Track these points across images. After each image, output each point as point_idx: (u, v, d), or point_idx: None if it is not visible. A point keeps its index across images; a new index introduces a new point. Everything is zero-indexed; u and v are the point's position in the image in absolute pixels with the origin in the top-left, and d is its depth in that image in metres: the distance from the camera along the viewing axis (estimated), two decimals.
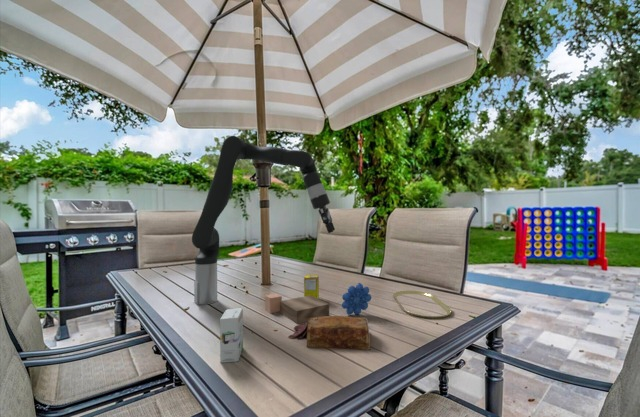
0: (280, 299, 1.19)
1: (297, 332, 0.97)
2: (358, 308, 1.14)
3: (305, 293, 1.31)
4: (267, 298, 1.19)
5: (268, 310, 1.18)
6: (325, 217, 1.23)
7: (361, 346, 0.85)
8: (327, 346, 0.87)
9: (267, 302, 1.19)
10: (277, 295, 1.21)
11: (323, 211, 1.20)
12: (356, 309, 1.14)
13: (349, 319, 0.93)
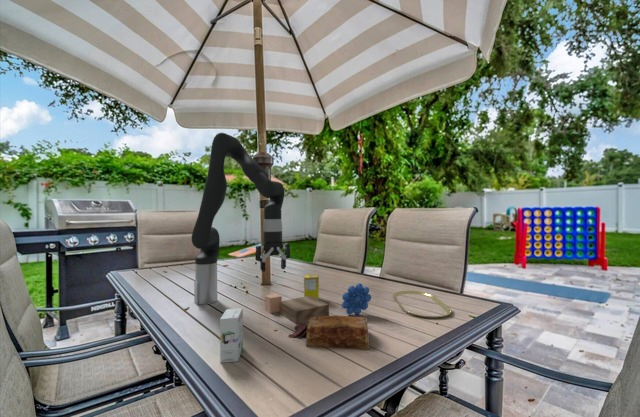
0: (280, 299, 1.19)
1: (297, 331, 0.97)
2: (358, 308, 1.14)
3: (305, 293, 1.31)
4: (267, 298, 1.19)
5: (268, 310, 1.18)
6: (264, 255, 1.18)
7: (360, 345, 0.86)
8: (326, 345, 0.87)
9: (267, 302, 1.19)
10: (277, 295, 1.21)
11: (257, 249, 1.16)
12: (356, 309, 1.14)
13: (348, 318, 0.94)
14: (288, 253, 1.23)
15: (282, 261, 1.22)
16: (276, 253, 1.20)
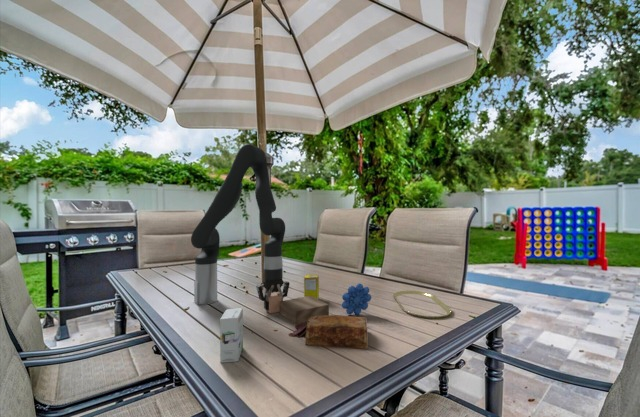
0: (280, 299, 1.19)
1: (297, 330, 0.98)
2: (358, 308, 1.14)
3: (305, 293, 1.31)
4: None
5: None
6: (266, 293, 1.19)
7: (359, 345, 0.86)
8: (325, 344, 0.88)
9: None
10: (277, 295, 1.21)
11: (258, 290, 1.16)
12: (356, 309, 1.14)
13: (348, 318, 0.94)
14: (286, 291, 1.22)
15: None
16: (275, 290, 1.20)
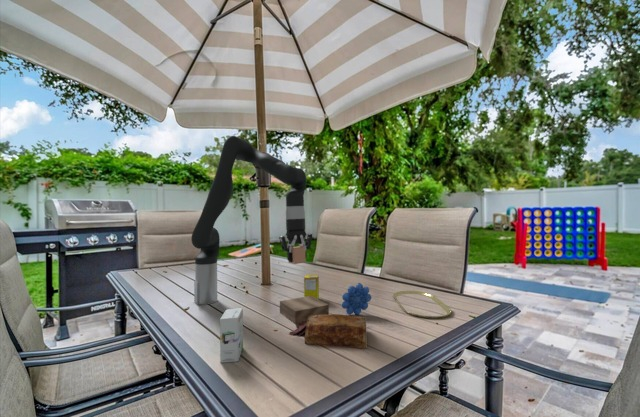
0: (304, 250, 1.16)
1: (298, 329, 0.99)
2: (358, 308, 1.14)
3: (305, 293, 1.31)
4: None
5: None
6: (289, 244, 1.15)
7: (358, 345, 0.86)
8: (324, 343, 0.88)
9: None
10: (300, 247, 1.17)
11: (281, 240, 1.13)
12: (356, 309, 1.14)
13: (348, 317, 0.94)
14: (309, 244, 1.19)
15: None
16: (298, 241, 1.16)
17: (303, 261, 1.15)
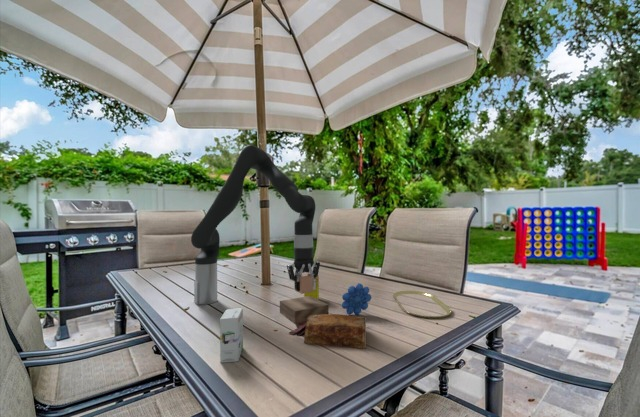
0: (311, 279, 1.14)
1: (298, 329, 1.00)
2: (358, 308, 1.14)
3: (305, 293, 1.31)
4: None
5: None
6: (297, 273, 1.14)
7: (357, 345, 0.86)
8: (324, 343, 0.88)
9: None
10: (308, 275, 1.16)
11: (289, 269, 1.12)
12: (356, 309, 1.14)
13: (347, 317, 0.94)
14: (316, 272, 1.17)
15: None
16: (306, 270, 1.15)
17: (310, 290, 1.14)
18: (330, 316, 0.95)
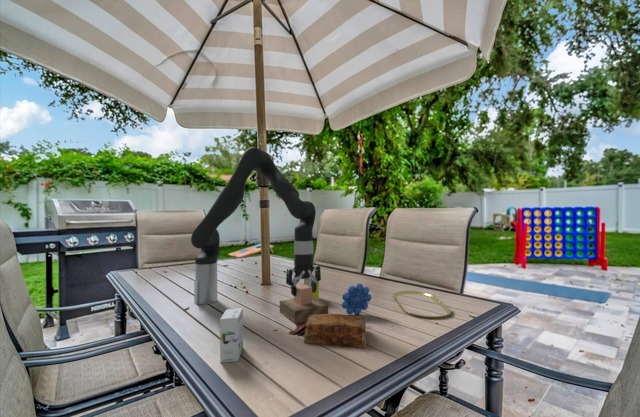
0: (310, 290, 1.14)
1: (298, 328, 1.00)
2: (358, 308, 1.14)
3: None
4: (297, 289, 1.14)
5: (298, 302, 1.13)
6: (295, 278, 1.13)
7: (357, 344, 0.87)
8: (324, 343, 0.89)
9: (297, 294, 1.14)
10: (307, 286, 1.16)
11: (288, 273, 1.11)
12: (356, 309, 1.14)
13: (347, 317, 0.95)
14: (319, 276, 1.18)
15: (312, 284, 1.17)
16: (307, 276, 1.15)
17: (309, 302, 1.14)
18: (330, 316, 0.95)
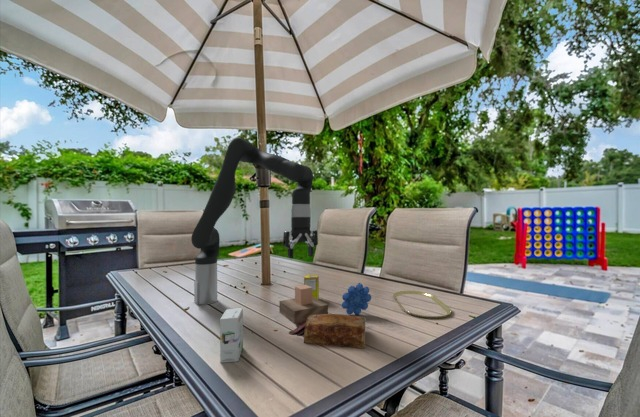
0: (311, 290, 1.15)
1: (298, 328, 1.00)
2: (358, 308, 1.14)
3: None
4: (297, 289, 1.14)
5: (298, 302, 1.14)
6: (292, 241, 1.14)
7: (356, 344, 0.87)
8: (323, 343, 0.89)
9: (297, 293, 1.14)
10: (307, 286, 1.16)
11: (285, 235, 1.12)
12: (356, 309, 1.14)
13: (347, 317, 0.95)
14: (316, 240, 1.19)
15: (309, 248, 1.18)
16: (304, 239, 1.16)
17: (310, 302, 1.14)
18: (330, 316, 0.95)
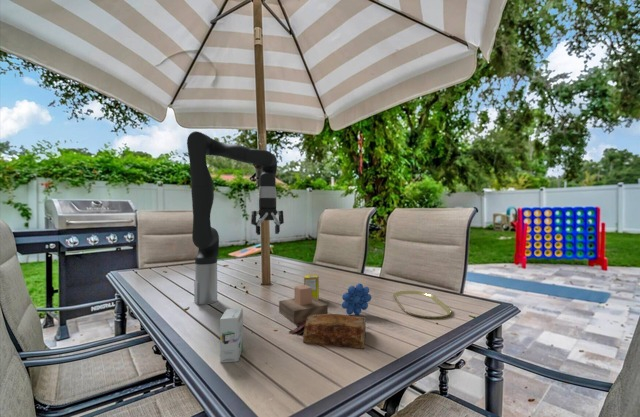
0: (310, 291, 1.14)
1: (298, 328, 1.00)
2: (358, 308, 1.14)
3: None
4: (297, 289, 1.14)
5: (298, 302, 1.13)
6: (259, 219, 1.28)
7: (355, 345, 0.86)
8: (322, 343, 0.89)
9: (297, 294, 1.14)
10: (307, 286, 1.16)
11: (253, 213, 1.26)
12: (356, 309, 1.14)
13: (347, 317, 0.94)
14: (282, 219, 1.32)
15: (276, 226, 1.32)
16: (270, 218, 1.30)
17: (309, 302, 1.14)
18: (329, 316, 0.95)
